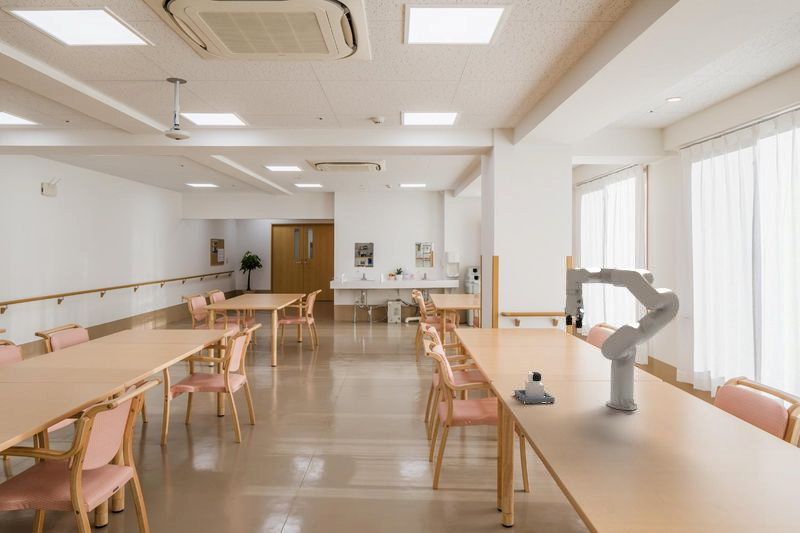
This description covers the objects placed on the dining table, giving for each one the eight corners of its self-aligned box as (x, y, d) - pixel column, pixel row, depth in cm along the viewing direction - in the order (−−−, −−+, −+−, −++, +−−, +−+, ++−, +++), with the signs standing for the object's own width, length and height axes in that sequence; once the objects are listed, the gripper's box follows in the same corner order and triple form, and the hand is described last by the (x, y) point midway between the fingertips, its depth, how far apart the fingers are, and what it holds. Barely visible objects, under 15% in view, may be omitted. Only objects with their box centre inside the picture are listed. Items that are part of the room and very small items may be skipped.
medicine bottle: (539, 395, 220) (540, 371, 220) (544, 400, 213) (544, 374, 213) (525, 395, 220) (525, 370, 220) (528, 399, 213) (528, 374, 213)
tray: (554, 403, 210) (554, 397, 210) (525, 404, 209) (525, 398, 209) (541, 394, 224) (541, 389, 224) (514, 395, 223) (514, 390, 223)
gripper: (590, 293, 218) (590, 329, 219) (572, 291, 235) (572, 324, 236) (575, 294, 217) (575, 329, 218) (559, 291, 235) (558, 324, 235)
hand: (573, 326), depth 227 cm, fingers open, 9 cm apart
